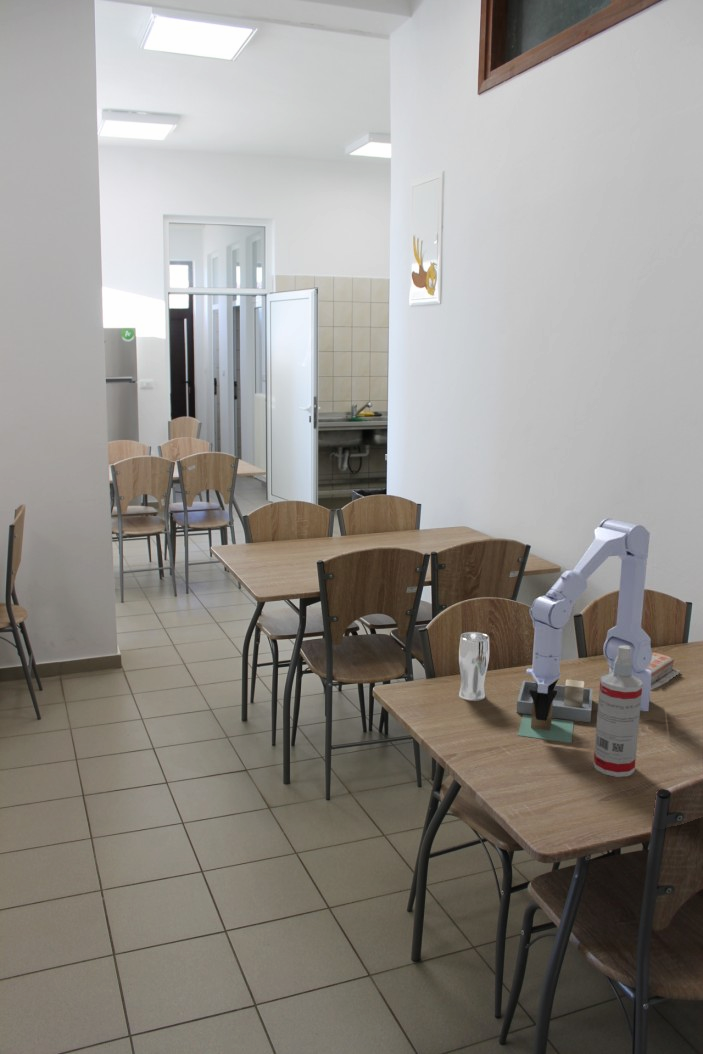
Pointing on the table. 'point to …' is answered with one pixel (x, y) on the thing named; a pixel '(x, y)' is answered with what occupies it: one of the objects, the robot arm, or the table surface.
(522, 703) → the tray
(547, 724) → the walnut block
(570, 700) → the birch block
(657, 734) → the table surface
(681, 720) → the table surface
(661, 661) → the packaged product
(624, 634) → the robot arm
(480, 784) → the table surface
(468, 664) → the beer glass
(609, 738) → the spray bottle
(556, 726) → the mat
